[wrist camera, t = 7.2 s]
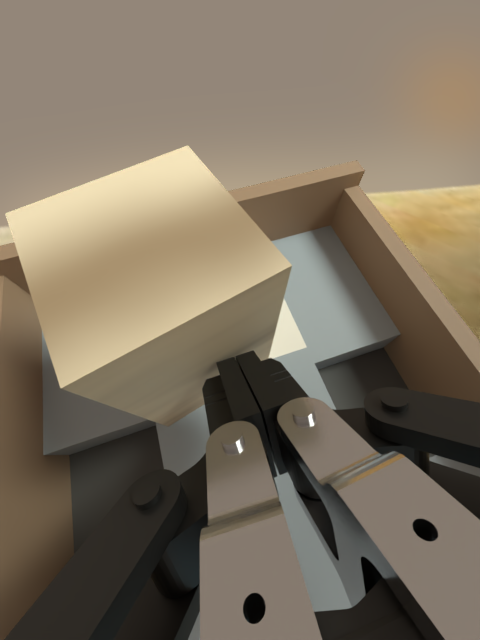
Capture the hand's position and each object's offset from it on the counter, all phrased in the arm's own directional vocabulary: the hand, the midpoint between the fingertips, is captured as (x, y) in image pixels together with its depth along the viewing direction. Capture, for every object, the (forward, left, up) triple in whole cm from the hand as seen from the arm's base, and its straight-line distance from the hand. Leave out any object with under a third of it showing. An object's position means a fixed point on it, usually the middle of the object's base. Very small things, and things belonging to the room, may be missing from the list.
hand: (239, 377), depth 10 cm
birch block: (-1, -4, -4) cm, 6 cm away
